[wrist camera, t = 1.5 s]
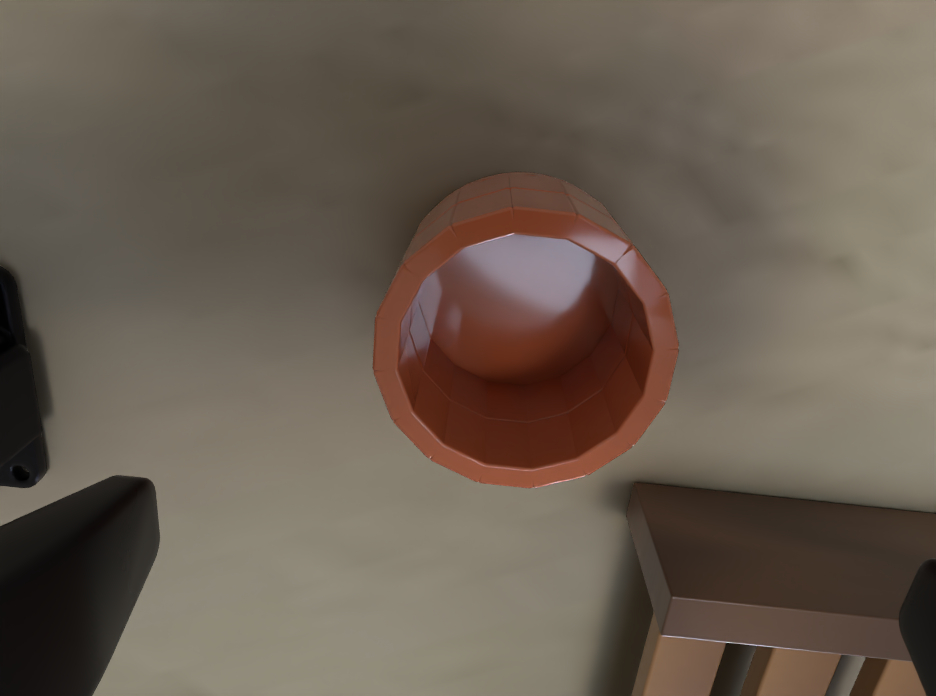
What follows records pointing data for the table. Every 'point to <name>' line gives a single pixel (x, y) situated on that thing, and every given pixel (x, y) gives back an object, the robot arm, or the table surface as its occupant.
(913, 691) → the rack
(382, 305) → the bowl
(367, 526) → the table surface
